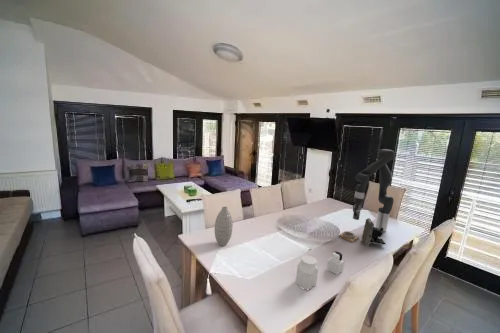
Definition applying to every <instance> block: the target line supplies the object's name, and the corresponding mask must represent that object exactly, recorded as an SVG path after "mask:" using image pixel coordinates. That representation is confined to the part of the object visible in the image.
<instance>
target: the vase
mask: <svg viewBox="0 0 500 333" xmlns="http://www.w3.org/2000/svg"><path fill="white" fill-rule="evenodd" d="M214 222H215V223H214V238H215V240H216V242H217V244H218V245H219V246H220V247H225V246H227V244H228V243H229V242H230V240H231V238H232V235H233V228H234V227H233V217H232V215H231V213H230V211H229V209H228V207H227V206H222V207H221V209H220V211H219V212H218V214H217V215H216V219H215V221H214Z"/></svg>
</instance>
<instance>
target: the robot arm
mask: <svg viewBox="0 0 500 333" xmlns="http://www.w3.org/2000/svg"><path fill="white" fill-rule="evenodd" d="M395 155H396V154H395V151H394V150H392V149H387V148H382V149H380V150H379V151H378V160H376V161H374V162H373V163H370V164H369V165H368V166H367V167H366V168H365V169H363V170H361V171H359V172H358V173H357V174H356V175H355V180H356V181H357V182H360V184H356V186H355V191H354V192H355V193H354V196H353V197H354V198H353V202H354V205H353V206H352V212H353V213H354V216H355V217H356V216H357V211H358V210H359V208H361V210H362V209H363V205H364V201H365V192H366V188H367V185H368V184H369V180H370V176H373V175H374V174H375V173H376V172H377V171H379V178H378V179H379V190H378V197H377V198H378V200H377V201H378V202H379V203H380V204H382V205H383V206H382V207H378V209H377V210H378V211H377V216H376V221H375V224H374V227H375V228H378V229H379V230H380V229H381V227H382V228H383V229H384V230H383V231H381V232H382V233H384V232H385V233H386V232H387V228H388V224H389V219H390V214H391V212H392V208H393V205H394V198H393V197H392V196H390V195H388V194H387V190H388V187H389V186H390V185H391V183H392V173H391V170H390V168H389V167H388V165H387V164H388V163H389V162H391V161H392V160H393V159H394V158H395ZM356 208H357V209H356Z"/></svg>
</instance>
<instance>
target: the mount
mask: <svg viewBox="0 0 500 333" xmlns="http://www.w3.org/2000/svg"><path fill="white" fill-rule="evenodd" d="M338 235H339V234H338ZM338 238H341V239H343V240H345V241H348V242H349V243H352V244H353V243H354V242H356V241H358V240H359V239H360V237H359V236H357V235H355V233H353V232H351V231H343V232H342V233H340V235H339V237H338Z"/></svg>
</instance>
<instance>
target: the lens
mask: <svg viewBox="0 0 500 333" xmlns="http://www.w3.org/2000/svg"><path fill="white" fill-rule="evenodd" d="M356 209H357V208H356ZM361 211H362V209H361V208H359V210H358V211H357V216H356V217H355V216H354V212H353V213H352V219H354V220H355V221H359V220H360V216H361Z"/></svg>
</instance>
